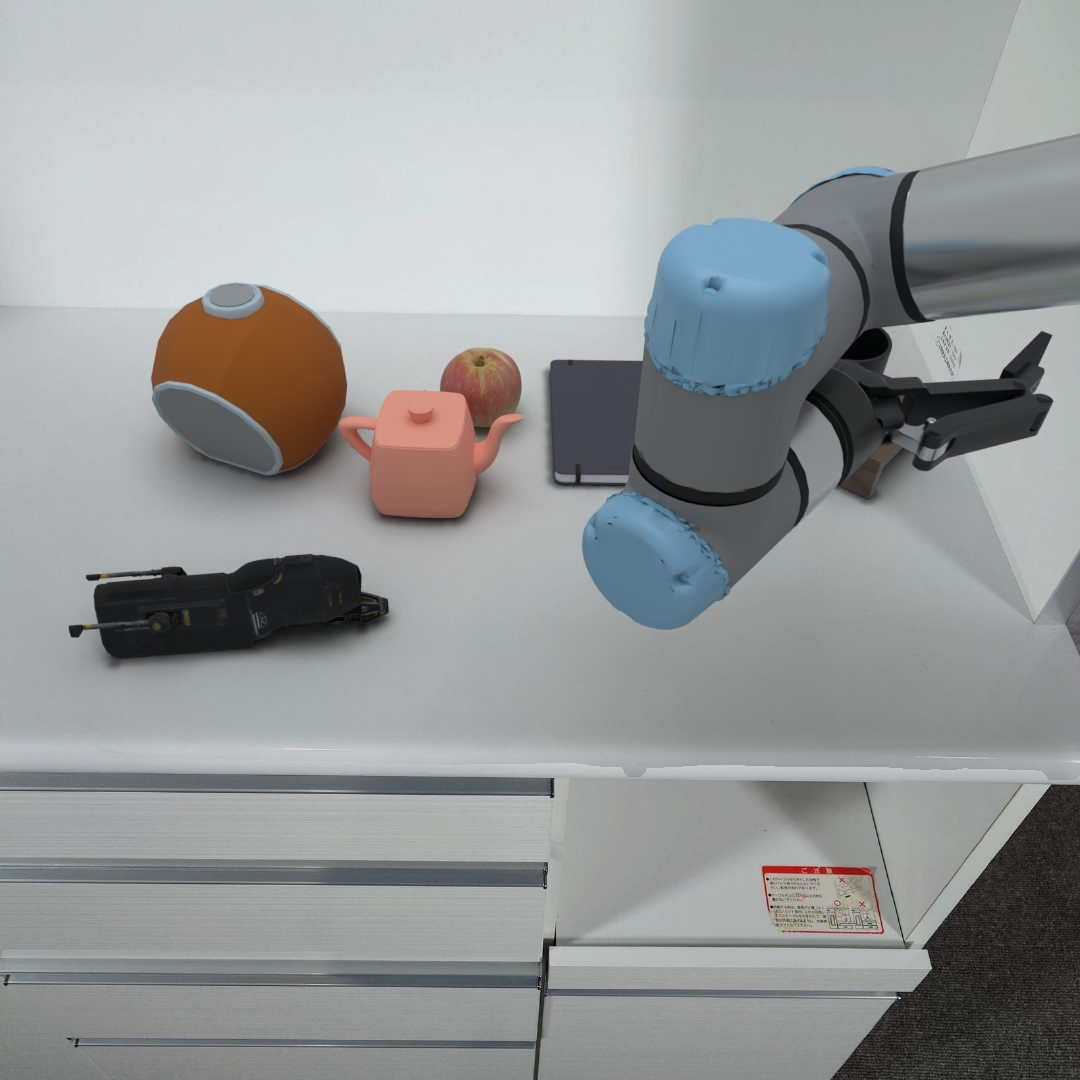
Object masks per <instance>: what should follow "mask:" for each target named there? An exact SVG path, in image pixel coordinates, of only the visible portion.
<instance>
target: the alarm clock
mask: <svg viewBox="0 0 1080 1080" xmlns="http://www.w3.org/2000/svg"><path fill="white" fill-rule="evenodd" d="M150 381H151V389H152V396H151V402H152V405H153V406H154V408H155V411H156V412H157V414H158V416H159V417H160V419H162V421H163V422H164V423H165V424H166V425H167V426H168V427H169V428H170V430H171V431H173V433H174V434H175V435H176V436H177V437H179V438H180V439H181V440H183V441H184V442H185V443H186V444H188V445H189V446H190V447H191V448H192V449H194V450H195V451H197V452H198V453H200V454H201V455H204V456H205V457H206V458H209V459H211V460H214V461H219V462H221V463H224V464H228V465H231V466H234V467H237V468H241V469H244V470H247V471H251V472H254V473H257V474H260V475H264V476H275V475H279V474H281V473H285V472H288V471H291V470H295V469H297V468H298V467H299V466H301V465H303V464H304V463H306V462H307V461H309V460H310V459H312V458H313V457H314V456H315V454H316V453H317V452H318V451H319V450H320V449H321V448H322V446H323V445H324V444H325V443H326V442H327V441H328V440H329V438H330V436H331V435H332V433H333V432H334V431H335V429H336V428H337V427H338V424H339V422H340V421H341V417H342V415H343V412H344V410H345V408H346V404H347V393H348V381H347V373H346V366H345V363H344V357H343V350H342V344H341V343H340V341H339V340H338V338H337V337H336V335H335V333H334V332H333V330H332V328H331V326H330V325H328V323H327V322H326V321H324V319H322V317H321V316H320V315H318V314H317V312H315V311H314V309H312V308H311V307H309V306H308V305H307V304H305V303H303V302H302V301H300V300H299V299H297V298H296V297H295V296H292V295H291V294H289V293H287V292H285V291H283V290H280V289H277V288H274V287H272V286H269V285H267V284H256V283H249V282H237V281H233V282H228V283H227V282H226V283H222V284H219V285H216V286H214V287H211V288H210V289H208V290H207V291H206V293H205V294H204V295H202V296H201V297H199V298H196V299H195V300H192V301H190V302H188V303H186V304H185V305H184V306H182V308H180V309H179V310H178V311H177V312H176V313H175V314H174V315H173V316H172V317H171V318H170V319H169V320H168V322H167V324H166V326H165V327H164V329H163V331H162V333H161V335H160V337H159V338H158V340H157V345H156V350H155V355H154V361H153V366H152V371H151V376H150Z"/></svg>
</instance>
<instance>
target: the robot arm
mask: <svg viewBox="0 0 1080 1080" xmlns="http://www.w3.org/2000/svg"><path fill="white" fill-rule="evenodd" d="M653 283H654V285H653V288H652V293H651V297H650V300H649V303H648V304H647V308H646V314H647V315H646V316H645V317H644V322H643V327H644V332H643V337H644V343H643V354H642V361H643V363H642V372H641V382H640V391H639V401H638V411H637V420H636V430H635V440H634V442H633V445H632V451H631V460H630V469H629V477H628V481H627V483H626V485H624V487H623V489H622V490H620V491H618V492H615V493H613V494H611V495H610V496H608V497H607V498H606V499H605V502H604V503H603V504H602V505H601V506H600V507H599V508H598V509H597V510H596V511H595V512H594V513H593V514H592V515H591V517H590V518H589V519H588V521H586V522H587V523H586V525H585V526H584V528H583V533H582V538H581V549H582V550H581V551H582V556H583V557H582V558H583V561H584V564H585V568H586V569H587V572H588V575H589V576H590V578H591V580H592V582H593V583H594V585H595V587H596V589H597V590H598V591H599V592H600V593H601V595H602V596H603V597H604V599H605V600H606V601H607V602H608V603H609V604H610V605H611V606H612V607H613V608H614V609H616V611H618V612H621V613H623V614H624V615H626V616H627V617H629V618H630V619H631V620H632V621H633V622H635V623H636V624H638V625H641V626H644V627H646V628H649V629H654V630H660V631H661V630H662V631H668V630H675V629H680V628H683V627H685V626H687V625H688V624H690V623H691V622H693V621H694V620H695V619H696V618H698V616H700V615H701V614H702V613H703V612H706V610H708V609H709V608H710V607H711V606H712V605H714V604H715V603H716V602H720V601H723V600H724V599H725V598H726V597H727V596H729V594H730V593H731V591H732V588H734V586H735V585H737V583H739V582H740V581H741V579H743V578H744V577H745V576H746V575H747V574H748V573H749V572H750V571H751V570H752V569H753V568H754V567H755V566H756V565H757V564H758V563H759V562H761V560H762V559H764V557H766V556H767V554H768V553H770V551H772V549H774V548H775V547H776V546H777V545H778V544H779V543H780V542H781V541H782V540H783V539H784V538H786V536H787V535H788V534H790V533H791V531H792V530H793V529H794V528H795V527H797V526H798V525H799V524H800V523H801V522H803V520H804V519H805V518H806V517H808V516H809V515H810V514H811V513H812V512H813V511H814V510H815V509H816V508H817V507H818V506H819V505H820V504H821V503H822V502H823V501H825V499H827V498H828V497H829V496H831V494H832V492H833V491H834V490H836V489H837V488H838V487H841V486H840V485H841V484H842V483H843V482H844V481H845V480H846V479H847V478H848V477H849V476H851V475H852V474H853V473H854V472H855V471H856V470H857V469H858V468H859V467H860V466H861V465H862V464H863V463H864V462H865V461H866V460H867V459H868V458H869V457H870V456H871V455H872V454H873V453H874V452H875V450H876V449H878V448H880V447H884V446H889V445H892V444H894V443H896V444H897V445H899V446H901V447H903V448H902V449H905V450H906V451H908V452H910V453H912V454H914V456H913V458H912V460H911V465H912V467H913V468H914V469H916V470H918V471H922V472H929V471H931V470H933V469H934V468H936V467H937V466H938V465H940V464H941V463H942V462H944V461H945V460H946V459H950V458H954V457H959V456H963V455H966V454H970V453H974V452H978V451H982V450H985V449H986V450H987V449H989V448H993V447H997V446H1001V445H1006V444H1009V443H1014V442H1018V441H1021V440H1025V439H1029V438H1032V437H1035V436H1036V437H1037V435H1038V434H1039V432H1040V430H1041V428H1042V427H1043V425H1044V422H1045V420H1046V418H1047V416H1048V414H1049V412H1050V410H1051V408H1052V406H1053V403H1054V399H1053V398H1052V397H1051V396H1049V395H1048V394H1044V393H1040V392H1039V393H1035V392H1036V391H1037V390H1038V388H1039V385H1040V384H1041V381H1042V379H1043V378H1044V376H1045V368H1044V367H1042V366H1040V364H1041V361H1042V359H1043V357H1044V355H1045V353H1046V350H1047V349H1048V346H1049V344H1050V343H1051V339H1052V338H1053V334H1052V333H1049V332H1047V331H1043V330H1041V331H1040V332H1039V333H1038V334H1036V336H1035V337H1034V338H1032V340H1031V341H1030V342H1029V343H1027V345H1026V346H1025V347H1024V348H1023V349H1022V350H1020V351H1019V353H1018V354H1016V355H1015V356H1014V358H1012V359H1011V360H1010V361H1009V362H1008V363H1007V364H1006V366H1004V367H1003V369H1002V371H1001V373H1000V375H999V378H989V379H972V380H971V379H970V380H951V381H931V382H923V381H922V379H921V378H920V377H918V376H904V377H903V376H902V377H891V376H889V375H887V374H884V373H883V374H881V373H878V372H875V371H871V370H868V369H866V368H864V367H863V366H861V365H860V364H858V363H856V362H853V361H851V360H849V359H847V360H845V361H843V360H840V359H839V358H840V357H841V356H842V355H843V354H844V353H845V352H846V351H847V349H848V348H849V347H850V346H851V345H852V344H853V343H854V342H855V340H856V339H857V338H858V337H859V336H860V335H861V334H862V333H863V332H864V331H866V330H869V329H873V328H890V327H900V326H908V325H917V324H925V323H932V322H936V321H942V320H950V319H951V320H952V319H959V318H968V317H977V316H987V315H995V314H996V315H997V314H1005V313H1014V312H1022V311H1031V310H1033V311H1034V310H1041V309H1050V308H1058V307H1059V308H1060V307H1067V306H1068V307H1069V306H1076V305H1080V133H1075V134H1070V135H1066V136H1062V137H1057V138H1053V139H1049V140H1044V141H1039V142H1035V143H1031V144H1026V145H1022V146H1017V147H1013V148H1009V149H1004V150H999V151H996V152H991V153H987V154H982V155H977V156H973V157H969V158H964V159H960V160H959V159H958V160H956V161H950V162H945V163H942V164H938V165H932V166H929V167H924V168H920V169H917V170H913V171H906V172H897V171H895V170H894V171H893V170H891V169H889V168H887V167H881V166H880V167H879V166H875V165H858V166H854V167H849V168H847V169H843V170H841V171H838V172H837V173H835V174H833V175H831V176H830V177H828V178H825V179H822V180H820V181H818V182H816V183H813V184H812V185H811V186H810V187H809V188H808V189H806V190H805V191H804V192H802V193H800V194H799V195H798V196H797V197H796V198H795V199H794V200H793V201H792V203H790V204H789V206H788V207H787V208H786V209H785V210H783V212H781V213H780V214H779V215H778V216H776V218H774V219H773V220H772V221H768V220H762V219H757V218H756V219H755V218H748V217H746V218H745V217H732V218H730V217H729V218H728V217H727V218H726V217H725V218H718V219H716V220H714V221H713V222H712V223H711V224H703V223H702V224H701V223H699V224H693V225H691V226H688V227H686V228H685V229H682V230H681V231H680V232H679V233H676V234H675V235H674V236H673V237H672V238H671V239H670V240H669V241H668V242H667V244H666V245H665V247H664V249H663V250H662V251H661V253H660V256H659V259H658V262H657V268H656V273H655V277H654V282H653ZM903 395H904V398H903V401H902V404H901V400H900V397H899V396H903Z"/></svg>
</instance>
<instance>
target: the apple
mask: <svg viewBox="0 0 1080 1080" xmlns="http://www.w3.org/2000/svg"><path fill="white" fill-rule="evenodd" d="M522 383H523V382H522V375H521V371H520V369H519V366H518V364H517V363H516V362H515V360H514V359H513V358H512V356H510V355H509V354H507V353H505V352H504V351H502V350H499V349H496V348H491V347H471V348H468V349H465V350H463V351H462V352H459V353H458V354H456V355H455V356H454V357H452V359H451V360H450V361H449V362H448V363H447V364H446V366H445V368H444V370H443V372H442V374H441V378H440V383H439V392H452V393H460V394H462V395H463V396H464V397H465V400H466V402H467V405H468V408H469V411H470V415H471V418H472V422H473V426H474V428H491V426H492V424H493V423H494V421H495V420H496V419H498V418H499V417H501V416H503V415H508V414H515V412H516V411H517V409H518V406H519V404H520V400H521V398H522V397H521V396H522V391H523V390H522V389H523V384H522Z"/></svg>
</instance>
